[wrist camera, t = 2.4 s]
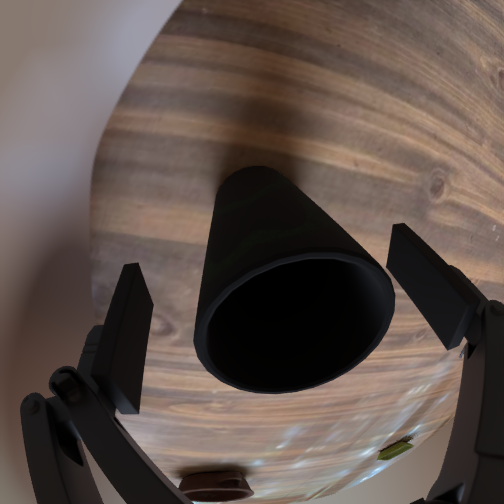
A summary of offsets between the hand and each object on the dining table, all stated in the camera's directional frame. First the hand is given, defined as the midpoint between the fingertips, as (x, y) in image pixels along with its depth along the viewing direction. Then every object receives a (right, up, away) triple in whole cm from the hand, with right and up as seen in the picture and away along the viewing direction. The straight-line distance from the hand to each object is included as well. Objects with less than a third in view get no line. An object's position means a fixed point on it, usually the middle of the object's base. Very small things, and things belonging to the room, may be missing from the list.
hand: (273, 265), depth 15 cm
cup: (-1, +4, +6) cm, 7 cm away
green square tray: (+36, -51, +46) cm, 78 cm away
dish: (-10, -50, +39) cm, 64 cm away
